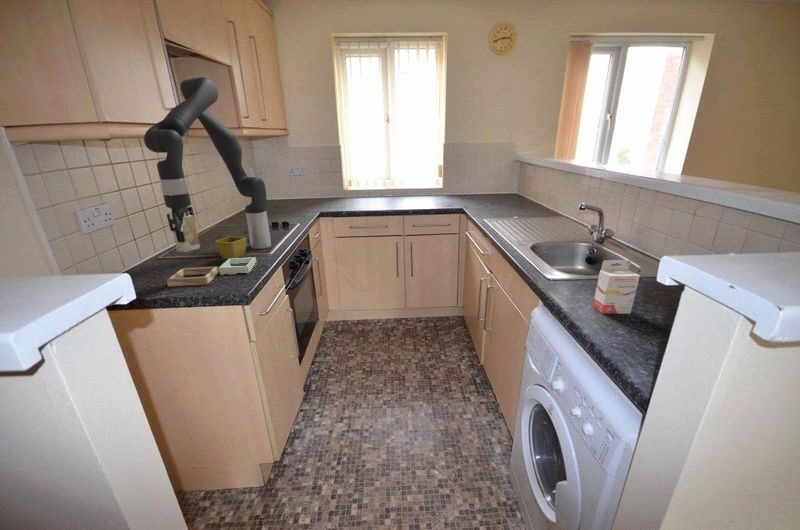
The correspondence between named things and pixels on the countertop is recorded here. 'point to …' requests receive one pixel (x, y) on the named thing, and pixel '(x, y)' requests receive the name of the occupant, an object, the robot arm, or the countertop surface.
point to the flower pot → (231, 247)
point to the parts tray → (229, 269)
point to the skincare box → (188, 236)
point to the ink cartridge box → (615, 288)
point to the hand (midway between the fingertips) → (186, 239)
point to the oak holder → (180, 281)
